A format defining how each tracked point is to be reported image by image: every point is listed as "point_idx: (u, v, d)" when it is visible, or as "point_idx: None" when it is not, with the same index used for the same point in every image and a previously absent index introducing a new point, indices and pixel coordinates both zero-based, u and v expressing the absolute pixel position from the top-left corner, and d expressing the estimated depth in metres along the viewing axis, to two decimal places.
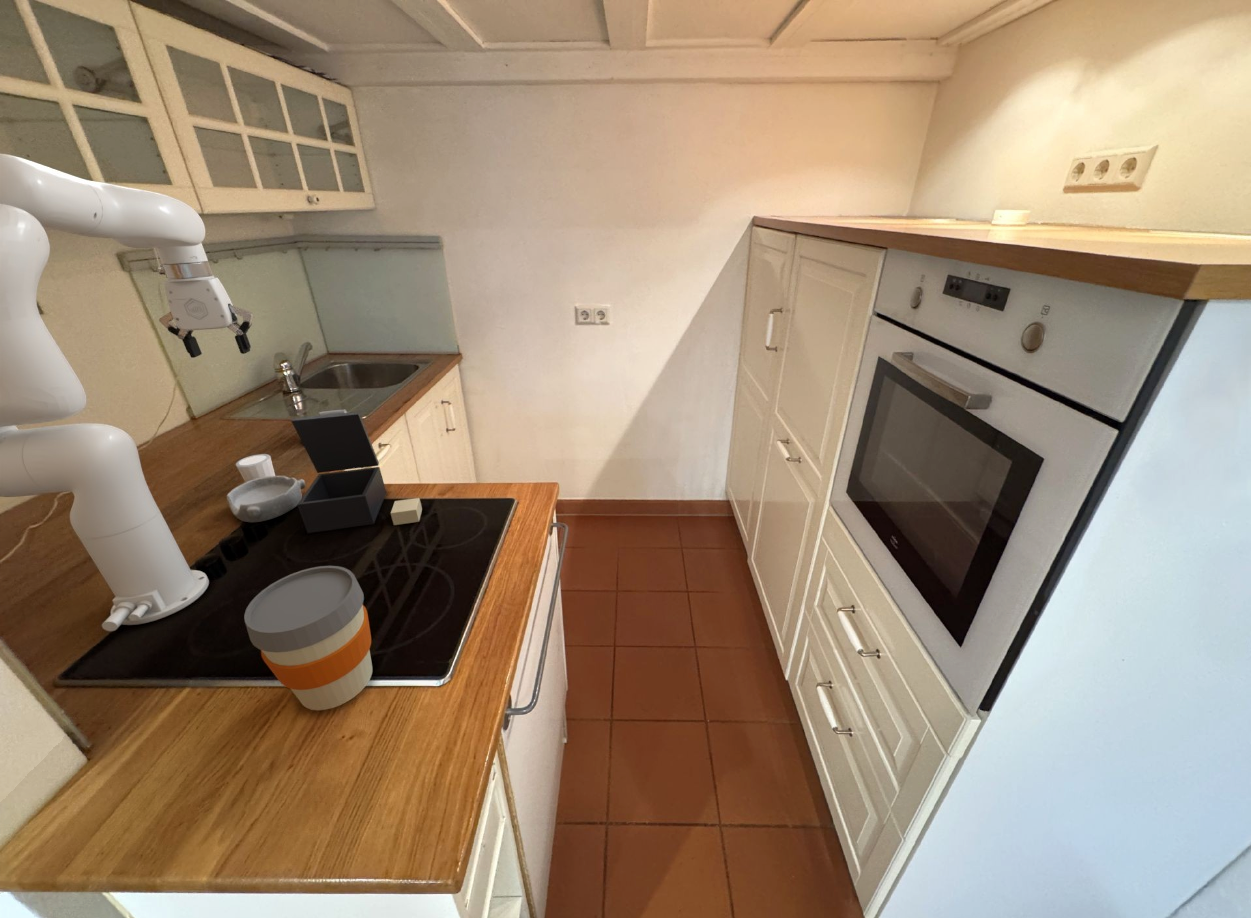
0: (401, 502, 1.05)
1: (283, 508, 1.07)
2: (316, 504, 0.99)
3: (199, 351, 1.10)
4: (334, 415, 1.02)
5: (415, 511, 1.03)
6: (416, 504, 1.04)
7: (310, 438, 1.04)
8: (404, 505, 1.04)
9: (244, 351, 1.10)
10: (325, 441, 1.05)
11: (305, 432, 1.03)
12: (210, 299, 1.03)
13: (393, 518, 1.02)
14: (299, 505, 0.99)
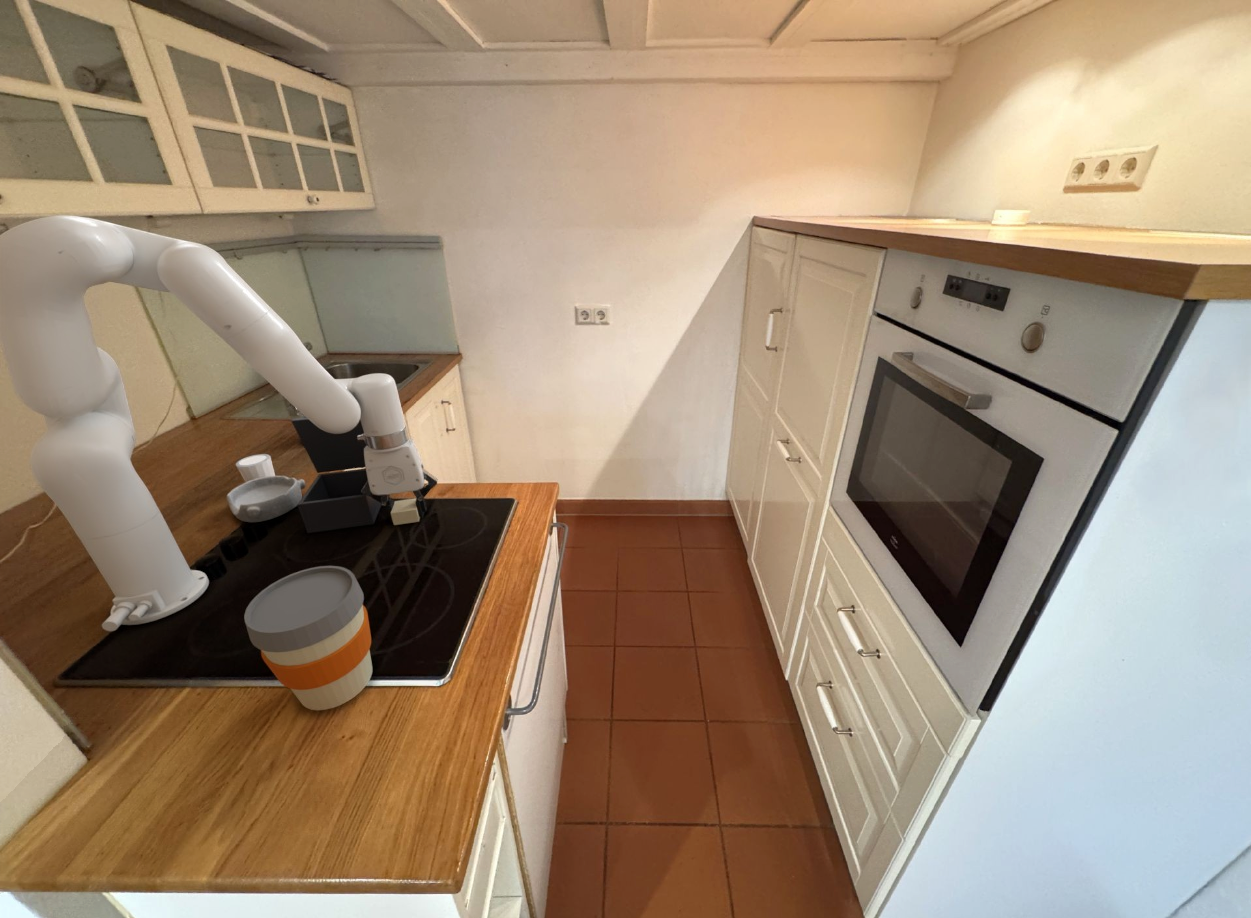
0: (401, 502, 1.05)
1: (283, 508, 1.07)
2: (316, 504, 0.99)
3: None
4: None
5: (415, 511, 1.03)
6: None
7: (310, 438, 1.04)
8: (404, 505, 1.04)
9: (422, 515, 1.05)
10: (325, 441, 1.05)
11: (305, 432, 1.03)
12: (408, 465, 0.98)
13: (393, 518, 1.02)
14: (299, 505, 0.99)
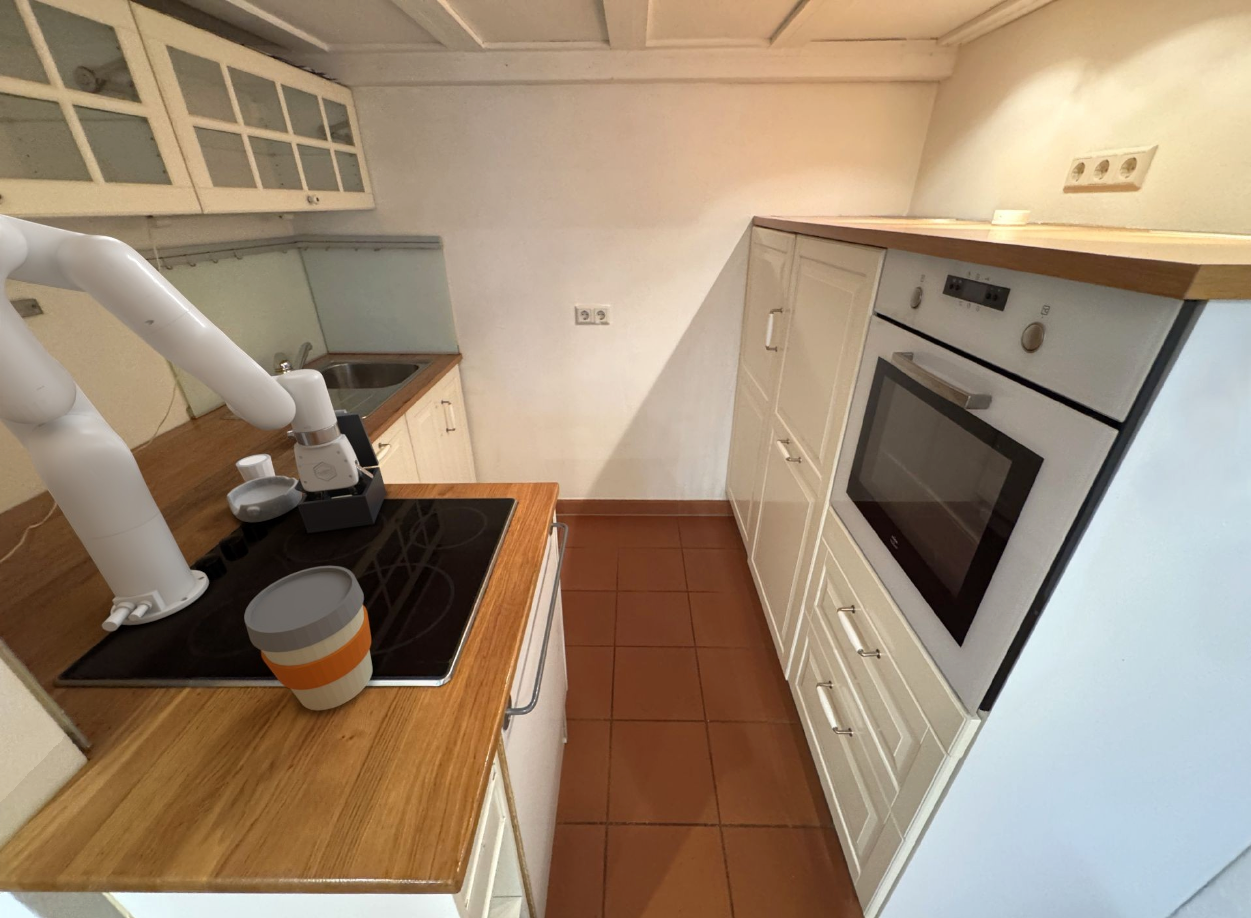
0: None
1: (283, 508, 1.07)
2: (316, 504, 0.99)
3: None
4: None
5: None
6: None
7: None
8: None
9: None
10: None
11: None
12: (340, 461, 0.98)
13: None
14: (299, 505, 0.99)
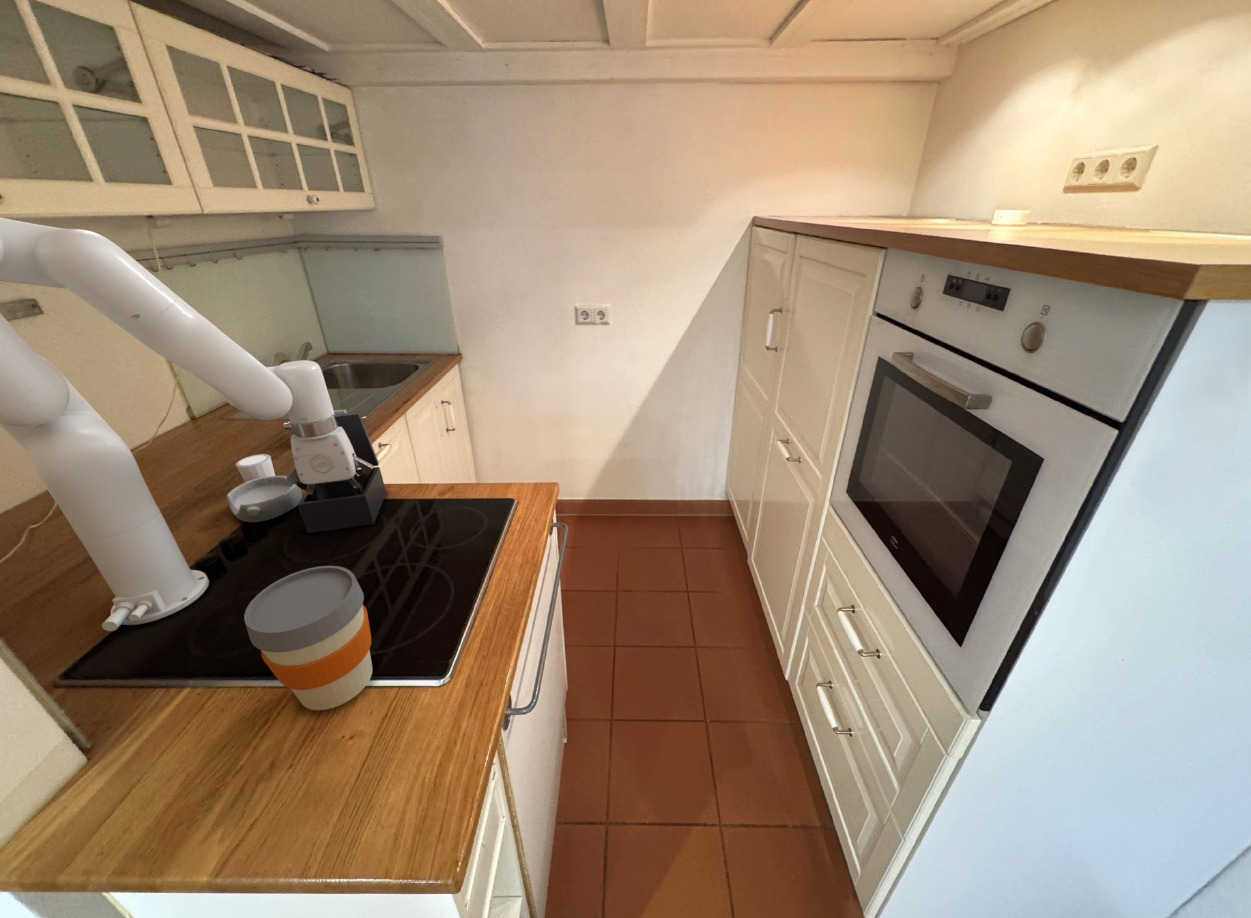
0: None
1: (283, 508, 1.07)
2: (316, 504, 0.99)
3: None
4: None
5: None
6: None
7: None
8: None
9: None
10: None
11: None
12: (337, 453, 0.97)
13: None
14: (299, 505, 0.99)
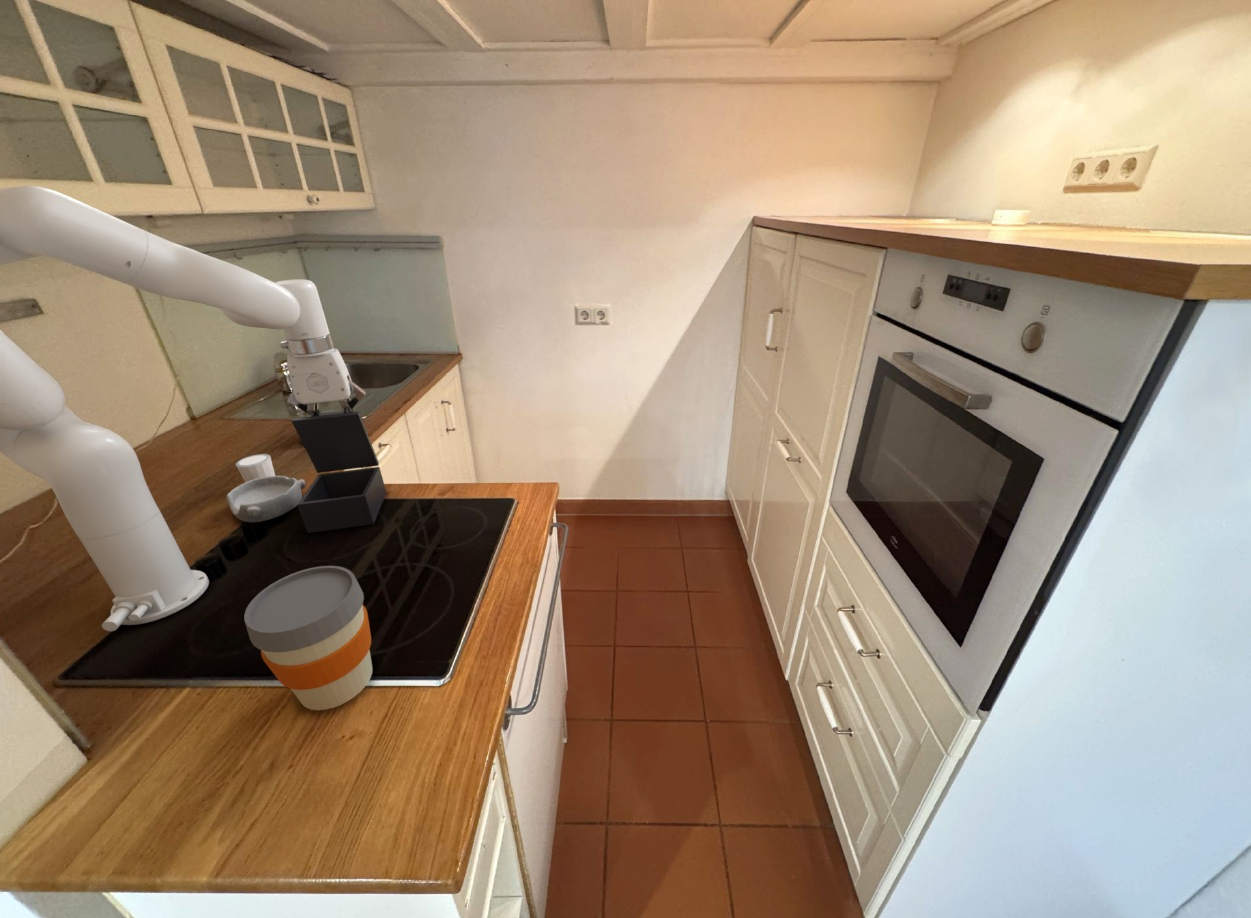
0: None
1: (283, 508, 1.07)
2: (316, 504, 0.99)
3: None
4: (334, 415, 1.02)
5: None
6: None
7: (310, 438, 1.04)
8: None
9: None
10: (325, 441, 1.05)
11: (305, 432, 1.03)
12: (332, 373, 1.00)
13: None
14: (299, 505, 0.99)
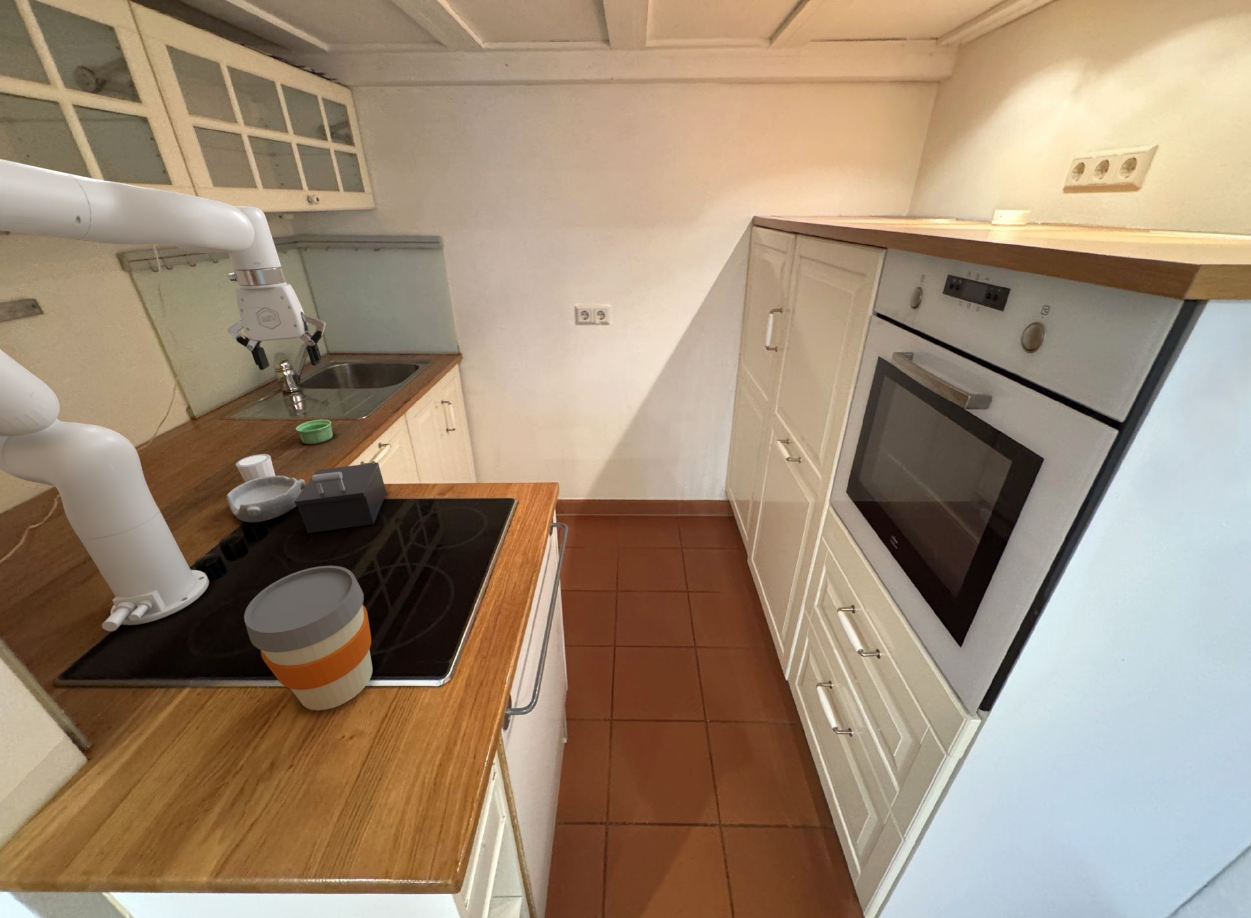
0: None
1: (283, 508, 1.07)
2: (316, 504, 0.99)
3: (267, 363, 1.02)
4: (339, 498, 0.99)
5: None
6: None
7: None
8: None
9: (315, 363, 1.03)
10: None
11: None
12: (283, 307, 0.96)
13: None
14: (299, 505, 0.99)
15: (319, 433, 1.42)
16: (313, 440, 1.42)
